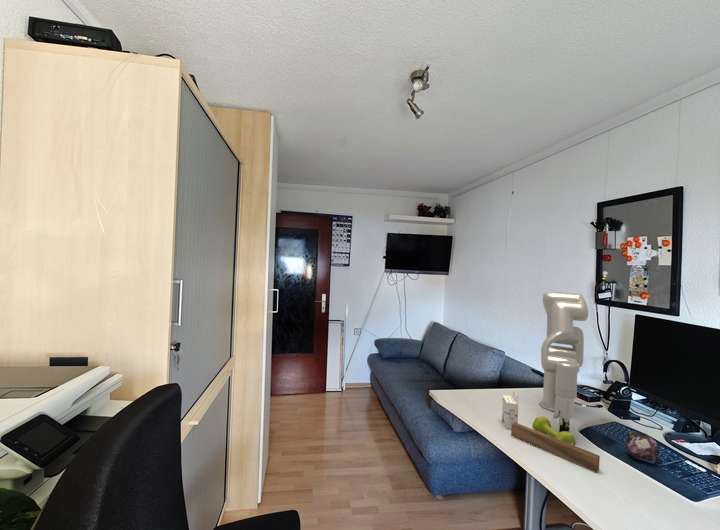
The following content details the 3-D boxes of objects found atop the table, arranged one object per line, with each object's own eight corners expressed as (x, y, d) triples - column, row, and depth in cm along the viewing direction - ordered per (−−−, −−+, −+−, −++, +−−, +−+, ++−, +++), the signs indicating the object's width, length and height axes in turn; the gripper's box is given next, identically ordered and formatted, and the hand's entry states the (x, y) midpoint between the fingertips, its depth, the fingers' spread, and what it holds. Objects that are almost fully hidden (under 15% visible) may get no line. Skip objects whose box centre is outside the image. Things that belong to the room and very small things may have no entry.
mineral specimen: (616, 449, 125) (622, 424, 126) (631, 456, 128) (637, 431, 130) (646, 464, 116) (653, 436, 117) (661, 470, 119) (668, 443, 121)
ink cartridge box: (501, 419, 150) (502, 388, 150) (512, 421, 149) (513, 389, 149) (505, 428, 142) (506, 395, 142) (517, 430, 141) (519, 396, 141)
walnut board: (514, 433, 138) (514, 422, 138) (599, 469, 115) (599, 455, 115) (511, 435, 136) (511, 424, 136) (596, 472, 113) (597, 458, 113)
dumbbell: (578, 453, 125) (578, 434, 125) (560, 454, 124) (560, 435, 124) (546, 431, 141) (546, 414, 141) (530, 432, 140) (530, 415, 140)
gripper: (562, 384, 142) (560, 426, 142) (549, 393, 132) (547, 437, 132) (582, 390, 136) (580, 433, 136) (569, 399, 126) (568, 445, 127)
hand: (564, 435), depth 134 cm, fingers closed
